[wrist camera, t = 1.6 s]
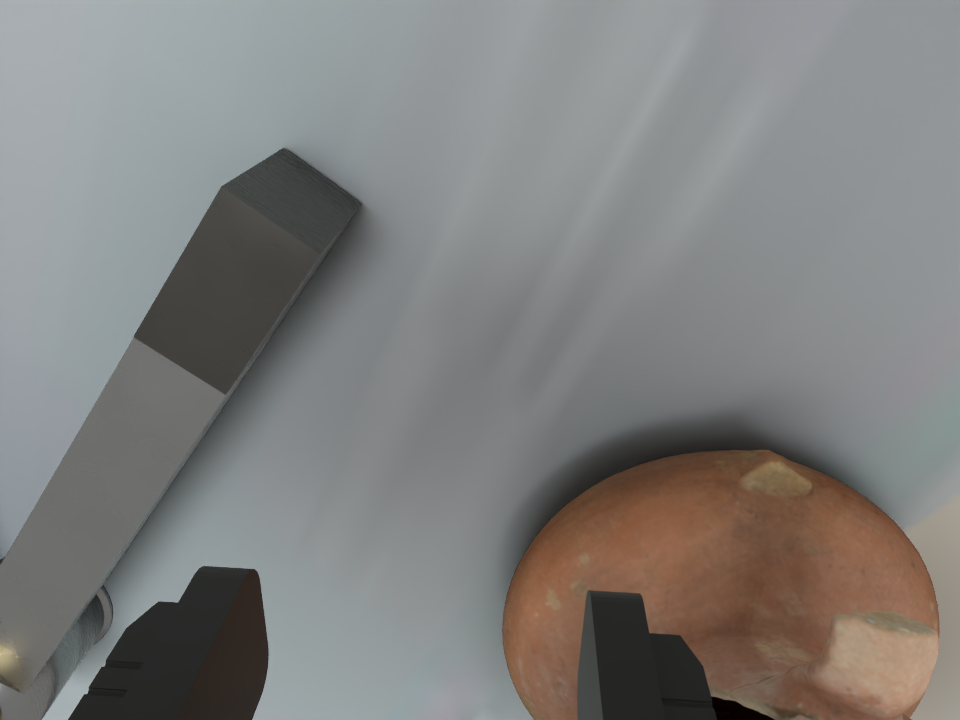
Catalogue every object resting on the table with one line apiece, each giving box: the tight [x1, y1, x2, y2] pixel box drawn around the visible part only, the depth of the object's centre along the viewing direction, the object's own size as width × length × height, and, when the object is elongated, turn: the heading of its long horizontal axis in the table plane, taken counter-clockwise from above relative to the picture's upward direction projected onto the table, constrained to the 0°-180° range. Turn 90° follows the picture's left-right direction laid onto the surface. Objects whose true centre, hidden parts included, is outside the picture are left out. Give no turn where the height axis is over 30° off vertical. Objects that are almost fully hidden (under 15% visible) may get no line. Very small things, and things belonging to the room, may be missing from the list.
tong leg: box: [0, 148, 362, 720], centre depth 26 cm, size 24×5×5 cm, turn 144°
